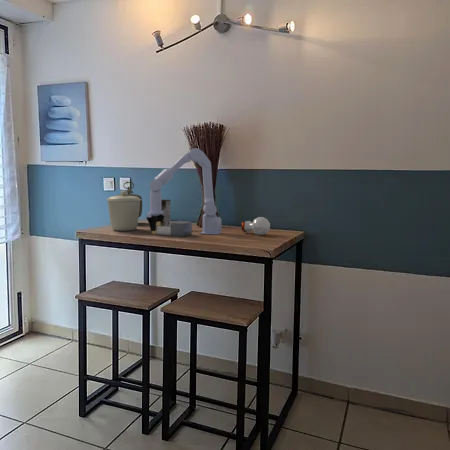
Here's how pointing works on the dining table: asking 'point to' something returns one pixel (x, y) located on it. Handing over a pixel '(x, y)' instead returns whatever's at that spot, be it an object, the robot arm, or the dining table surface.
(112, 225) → the canister
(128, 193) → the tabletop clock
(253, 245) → the dining table surface
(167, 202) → the coffee box
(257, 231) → the potion bottle
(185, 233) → the housing
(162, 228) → the lever
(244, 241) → the dining table surface
